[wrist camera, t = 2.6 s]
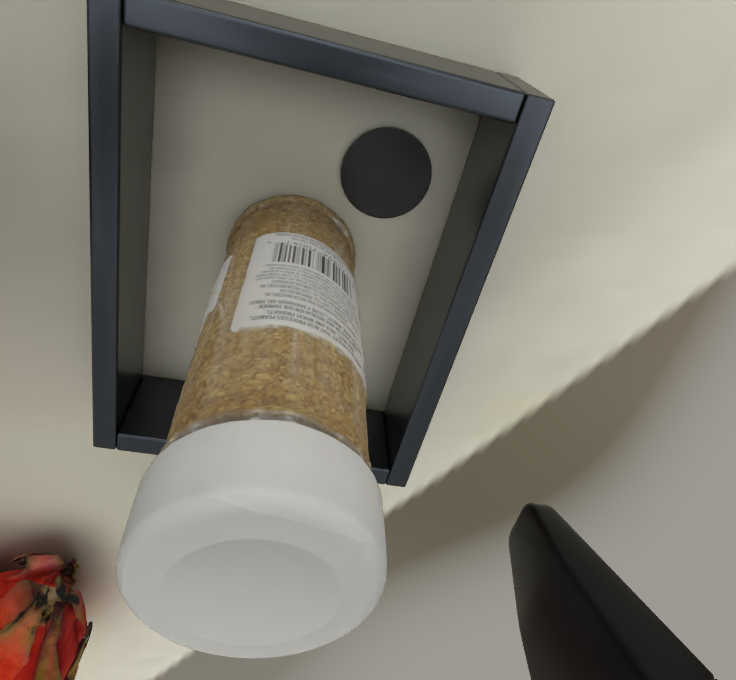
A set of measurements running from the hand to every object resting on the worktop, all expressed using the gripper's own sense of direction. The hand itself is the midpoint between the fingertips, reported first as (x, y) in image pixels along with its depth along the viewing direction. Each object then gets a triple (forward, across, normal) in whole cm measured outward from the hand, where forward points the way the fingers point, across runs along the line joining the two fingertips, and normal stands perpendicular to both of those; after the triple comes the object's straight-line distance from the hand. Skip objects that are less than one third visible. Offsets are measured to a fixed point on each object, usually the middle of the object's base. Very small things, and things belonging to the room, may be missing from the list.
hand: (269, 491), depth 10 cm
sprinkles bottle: (+13, 0, +2) cm, 13 cm away
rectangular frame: (+12, 0, +2) cm, 13 cm away
